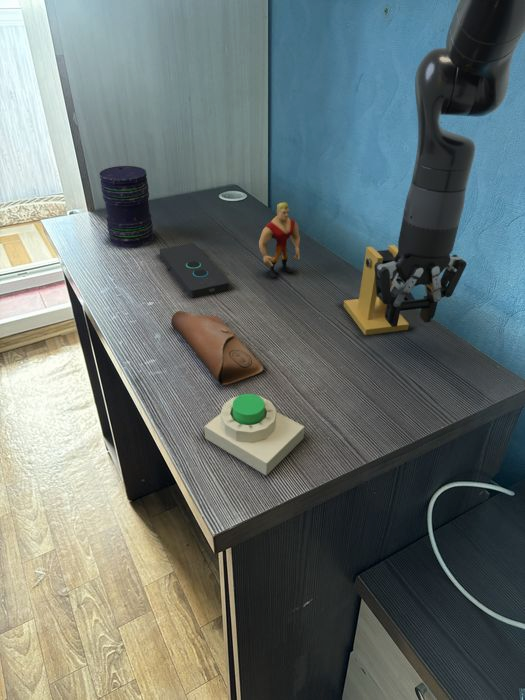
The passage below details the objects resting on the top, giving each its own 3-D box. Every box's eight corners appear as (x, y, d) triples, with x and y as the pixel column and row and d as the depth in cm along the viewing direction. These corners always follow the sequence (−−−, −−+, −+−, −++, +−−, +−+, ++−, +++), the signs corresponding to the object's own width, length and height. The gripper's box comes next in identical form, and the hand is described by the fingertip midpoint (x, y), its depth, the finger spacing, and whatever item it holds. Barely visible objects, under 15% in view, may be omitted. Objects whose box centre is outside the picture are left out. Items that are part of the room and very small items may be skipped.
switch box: (303, 438, 67) (305, 415, 65) (266, 476, 62) (267, 452, 60) (244, 406, 72) (244, 384, 70) (204, 438, 67) (203, 415, 65)
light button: (270, 412, 66) (271, 402, 65) (251, 430, 63) (251, 419, 62) (246, 399, 68) (246, 389, 67) (226, 415, 65) (226, 405, 64)
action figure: (265, 282, 102) (267, 208, 93) (255, 275, 105) (257, 202, 96) (304, 271, 106) (309, 200, 98) (294, 264, 109) (298, 194, 100)
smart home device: (189, 290, 95) (157, 248, 110) (190, 298, 96) (158, 256, 111) (231, 281, 98) (194, 242, 113) (231, 289, 99) (194, 249, 114)
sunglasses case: (268, 368, 78) (249, 343, 74) (234, 399, 78) (212, 376, 73) (215, 314, 91) (195, 290, 86) (185, 340, 90) (163, 317, 86)
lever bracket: (408, 329, 89) (423, 262, 82) (365, 335, 87) (376, 266, 80) (383, 301, 97) (394, 237, 90) (343, 306, 95) (351, 240, 88)
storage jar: (158, 244, 116) (151, 177, 107) (113, 250, 112) (102, 181, 104) (148, 228, 123) (141, 164, 114) (106, 233, 120) (95, 168, 111)
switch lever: (427, 311, 80) (432, 300, 78) (397, 315, 79) (401, 303, 77) (392, 260, 88) (396, 248, 86) (365, 263, 87) (368, 251, 85)
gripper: (396, 231, 66) (376, 340, 76) (493, 223, 69) (462, 329, 79) (371, 210, 72) (356, 314, 82) (462, 204, 75) (437, 305, 85)
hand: (408, 321), depth 81 cm, fingers closed on switch lever, 5 cm apart
